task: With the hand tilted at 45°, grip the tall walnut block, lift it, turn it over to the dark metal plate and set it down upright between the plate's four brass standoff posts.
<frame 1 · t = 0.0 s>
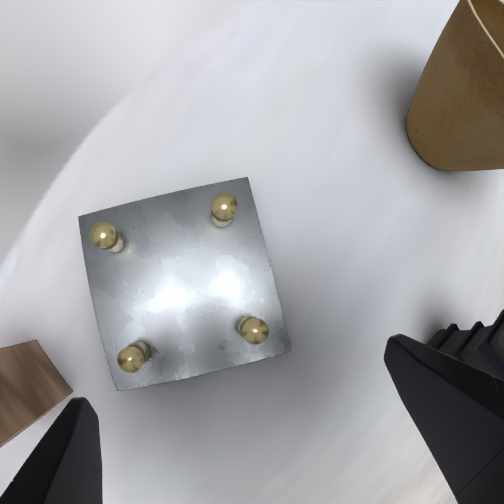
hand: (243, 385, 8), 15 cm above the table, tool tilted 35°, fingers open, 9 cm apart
standoff plate: (180, 284, 23), on the table
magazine: (445, 369, 25), on the table
plant pot: (432, 137, 29), on the table
walnut block: (36, 381, 20), on the table
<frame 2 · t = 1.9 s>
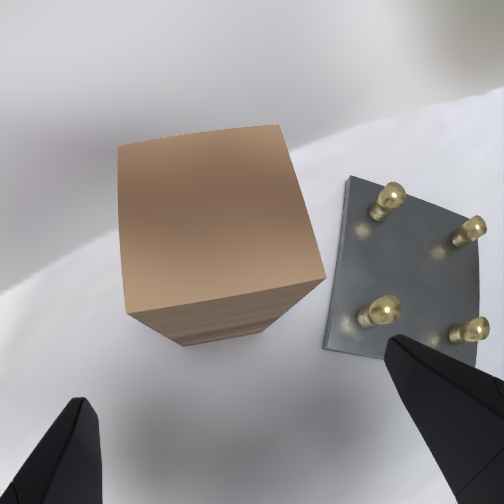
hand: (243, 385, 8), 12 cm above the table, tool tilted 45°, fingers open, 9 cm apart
standoff plate: (413, 277, 23), on the table
walnut block: (214, 301, 21), on the table
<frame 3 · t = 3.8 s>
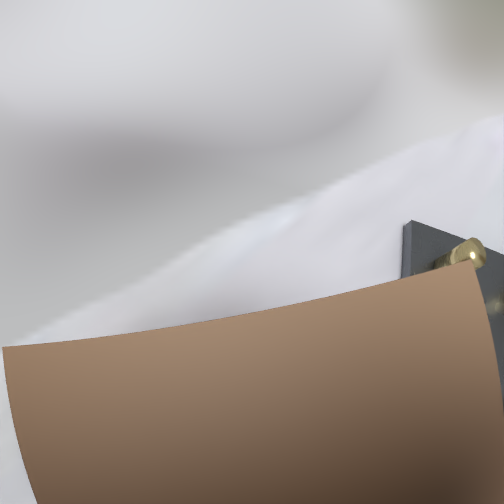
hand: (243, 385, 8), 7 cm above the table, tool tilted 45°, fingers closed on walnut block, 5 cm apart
standoff plate: (475, 347, 16), on the table
walnut block: (238, 405, 14), on the table, touching gripper
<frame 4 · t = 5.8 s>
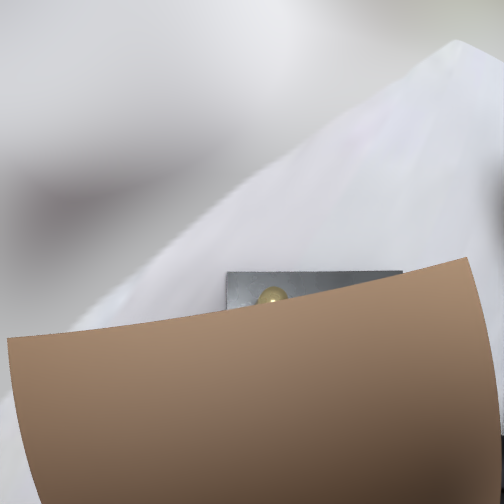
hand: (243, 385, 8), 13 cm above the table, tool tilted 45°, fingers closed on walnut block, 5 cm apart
standoff plate: (324, 367, 21), on the table
walnut block: (241, 404, 14), point 6 cm above the table, touching gripper
when the fingers open (8 cm above the table, at t = 7.6 s): walnut block stays where it is, resting on standoff plate.
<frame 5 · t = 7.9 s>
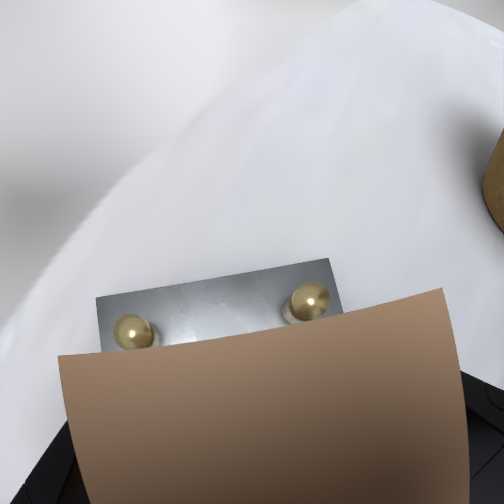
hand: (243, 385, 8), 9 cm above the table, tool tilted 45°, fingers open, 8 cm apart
standoff plate: (236, 399, 16), on the table
walnut block: (236, 403, 15), point 1 cm above the table, touching standoff plate
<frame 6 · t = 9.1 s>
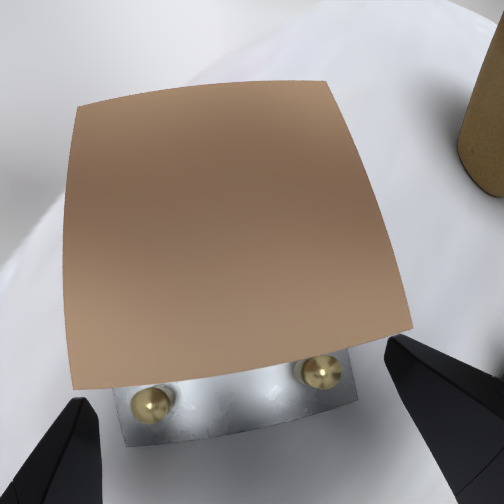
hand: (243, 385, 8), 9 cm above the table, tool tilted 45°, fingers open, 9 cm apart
standoff plate: (219, 316, 18), on the table
plant pot: (482, 163, 25), on the table
walnut block: (218, 316, 17), point 1 cm above the table, touching standoff plate
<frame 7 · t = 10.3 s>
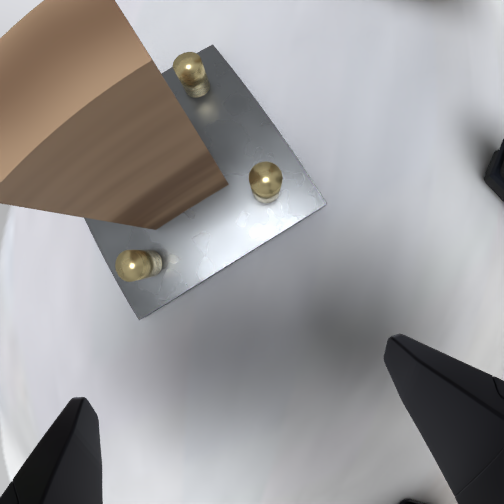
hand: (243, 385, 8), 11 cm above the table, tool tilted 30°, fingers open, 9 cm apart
standoff plate: (176, 173, 19), on the table
walnut block: (171, 171, 18), point 1 cm above the table, touching standoff plate
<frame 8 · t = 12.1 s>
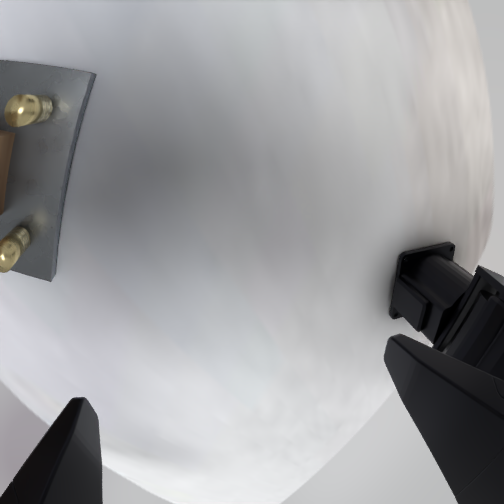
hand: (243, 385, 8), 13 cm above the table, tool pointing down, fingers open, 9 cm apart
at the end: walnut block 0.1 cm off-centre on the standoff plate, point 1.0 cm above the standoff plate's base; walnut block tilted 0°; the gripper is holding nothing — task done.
